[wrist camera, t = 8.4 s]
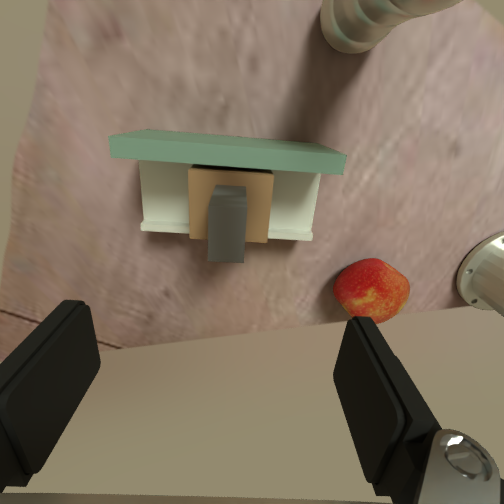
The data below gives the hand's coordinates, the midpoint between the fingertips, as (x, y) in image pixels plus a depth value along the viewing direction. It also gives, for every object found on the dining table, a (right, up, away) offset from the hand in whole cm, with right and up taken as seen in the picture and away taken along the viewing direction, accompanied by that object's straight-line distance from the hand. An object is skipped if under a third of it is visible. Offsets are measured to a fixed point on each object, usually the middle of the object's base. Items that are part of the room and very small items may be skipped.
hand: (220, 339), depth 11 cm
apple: (+16, 0, +30) cm, 34 cm away
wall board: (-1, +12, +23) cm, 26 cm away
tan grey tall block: (-1, +10, +20) cm, 23 cm away
